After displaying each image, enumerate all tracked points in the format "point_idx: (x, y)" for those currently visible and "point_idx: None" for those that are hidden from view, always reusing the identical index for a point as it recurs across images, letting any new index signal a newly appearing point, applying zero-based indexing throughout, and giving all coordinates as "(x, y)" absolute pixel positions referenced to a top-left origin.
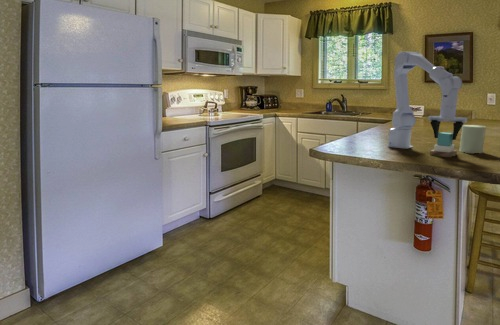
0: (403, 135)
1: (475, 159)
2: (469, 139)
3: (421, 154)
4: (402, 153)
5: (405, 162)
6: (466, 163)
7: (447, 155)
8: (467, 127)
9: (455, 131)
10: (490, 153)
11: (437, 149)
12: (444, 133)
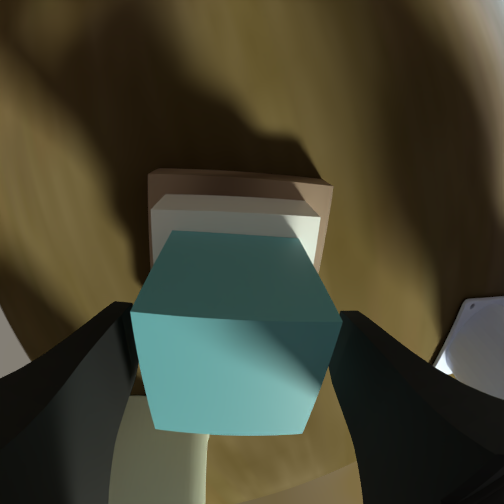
0: None
1: (29, 221)
2: (134, 461)
3: (378, 162)
4: (473, 130)
5: None
6: (34, 39)
7: (176, 170)
8: None
9: (44, 362)
10: None
11: (276, 202)
12: (240, 353)
